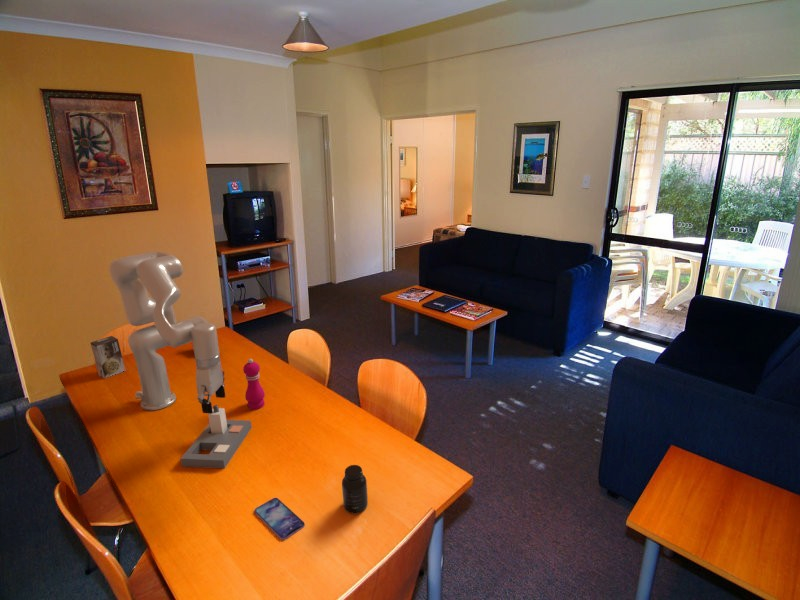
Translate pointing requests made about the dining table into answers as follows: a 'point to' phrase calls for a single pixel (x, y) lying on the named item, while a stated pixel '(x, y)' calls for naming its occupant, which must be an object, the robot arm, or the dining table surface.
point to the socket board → (216, 446)
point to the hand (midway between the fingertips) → (214, 404)
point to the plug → (218, 420)
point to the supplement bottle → (354, 490)
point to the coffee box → (108, 356)
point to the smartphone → (279, 518)
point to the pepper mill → (253, 385)
